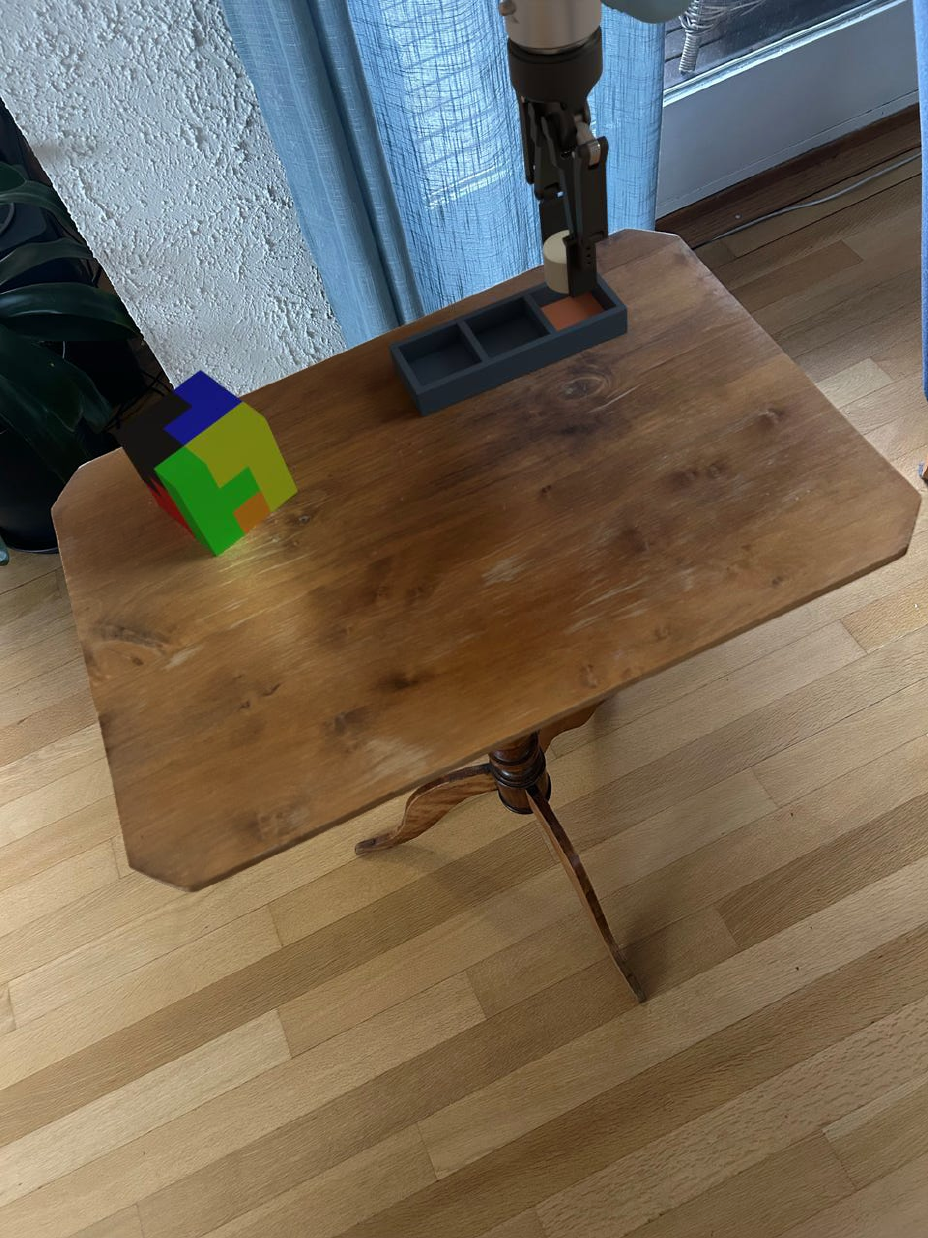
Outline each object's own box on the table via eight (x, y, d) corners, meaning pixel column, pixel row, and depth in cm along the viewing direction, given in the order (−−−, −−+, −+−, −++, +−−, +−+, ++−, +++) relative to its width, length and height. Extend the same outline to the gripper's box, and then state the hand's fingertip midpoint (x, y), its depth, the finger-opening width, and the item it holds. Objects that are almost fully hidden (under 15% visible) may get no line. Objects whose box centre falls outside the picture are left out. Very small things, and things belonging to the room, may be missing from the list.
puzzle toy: (237, 443, 100) (200, 369, 92) (298, 491, 95) (265, 417, 87) (158, 504, 97) (113, 433, 89) (216, 556, 92) (175, 487, 84)
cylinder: (605, 281, 96) (604, 250, 93) (559, 300, 96) (556, 270, 93) (582, 253, 99) (580, 222, 96) (537, 271, 98) (534, 241, 95)
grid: (627, 332, 100) (627, 307, 98) (422, 417, 98) (416, 394, 95) (591, 287, 105) (590, 262, 102) (394, 367, 102) (388, 344, 100)
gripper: (465, -1, 82) (498, 239, 102) (560, 99, 72) (576, 343, 92) (547, -31, 83) (564, 212, 102) (652, 64, 73) (649, 313, 92)
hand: (570, 274), depth 97 cm, fingers closed on cylinder, 5 cm apart
